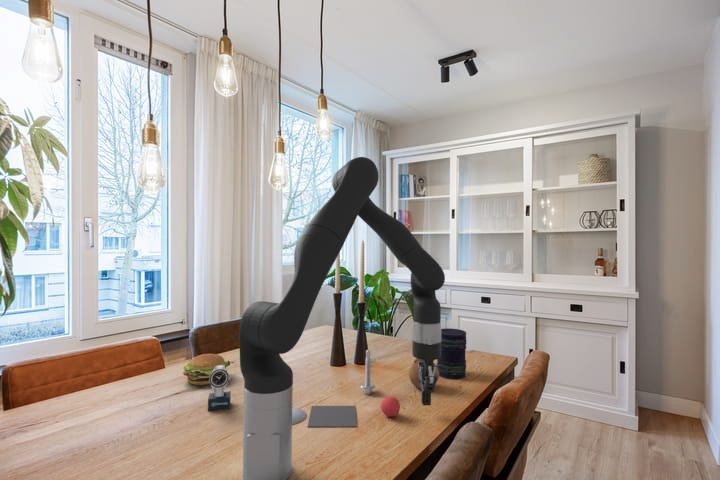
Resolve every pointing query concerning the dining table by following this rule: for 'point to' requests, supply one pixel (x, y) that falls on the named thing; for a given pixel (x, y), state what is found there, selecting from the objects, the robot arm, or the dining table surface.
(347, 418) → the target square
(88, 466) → the dining table surface
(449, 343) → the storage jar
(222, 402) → the watch
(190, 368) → the food
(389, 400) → the ball
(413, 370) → the onion
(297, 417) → the disc
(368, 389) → the screw
